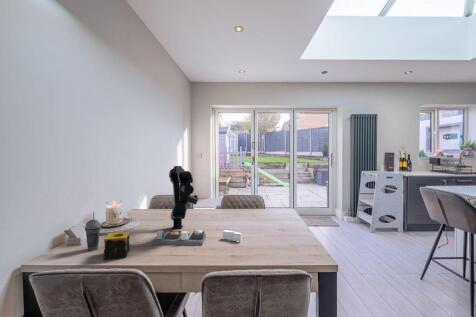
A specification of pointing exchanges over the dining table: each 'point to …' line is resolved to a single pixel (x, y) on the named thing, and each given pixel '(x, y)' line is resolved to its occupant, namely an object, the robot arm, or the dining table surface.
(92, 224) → the beverage cup
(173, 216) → the robot arm
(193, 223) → the dining table surface
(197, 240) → the control panel
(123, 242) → the black and yellow box
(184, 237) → the lever ivory
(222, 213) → the dining table surface
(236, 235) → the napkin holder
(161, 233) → the grey metal block
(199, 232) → the button grey
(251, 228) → the dining table surface
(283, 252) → the dining table surface
